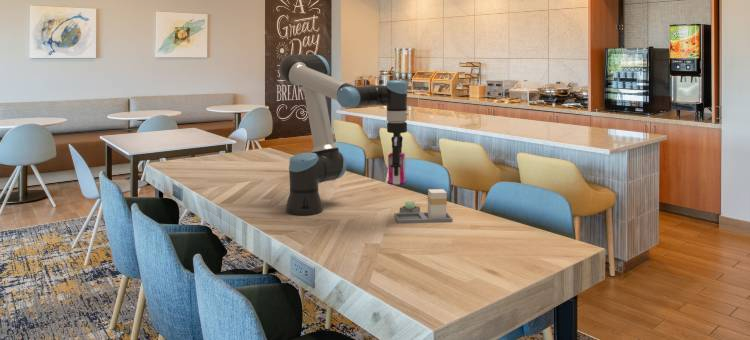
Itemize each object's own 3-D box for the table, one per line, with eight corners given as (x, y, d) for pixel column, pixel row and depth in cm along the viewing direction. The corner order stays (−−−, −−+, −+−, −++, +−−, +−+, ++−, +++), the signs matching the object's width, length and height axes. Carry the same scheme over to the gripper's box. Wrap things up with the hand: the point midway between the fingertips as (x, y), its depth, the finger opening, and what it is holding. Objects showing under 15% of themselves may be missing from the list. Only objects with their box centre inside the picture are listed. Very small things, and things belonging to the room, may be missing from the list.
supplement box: (391, 181, 225) (390, 152, 223) (406, 181, 223) (406, 152, 221) (388, 184, 219) (387, 154, 217) (403, 184, 218) (403, 154, 216)
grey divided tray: (398, 225, 219) (398, 220, 218) (394, 218, 229) (394, 213, 228) (452, 224, 221) (452, 218, 221) (446, 217, 231) (446, 211, 231)
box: (430, 220, 222) (431, 193, 220) (427, 216, 228) (428, 189, 226) (446, 220, 223) (447, 192, 221) (442, 216, 229) (443, 189, 226)
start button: (403, 213, 234) (403, 203, 233) (408, 211, 237) (408, 201, 236) (411, 215, 232) (411, 204, 231) (416, 212, 235) (416, 202, 234)
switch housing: (399, 215, 233) (399, 207, 233) (407, 211, 238) (407, 204, 238) (412, 217, 230) (412, 210, 230) (419, 214, 235) (419, 206, 235)
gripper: (405, 124, 207) (405, 187, 211) (408, 119, 226) (408, 177, 230) (384, 124, 208) (384, 187, 212) (389, 119, 227) (389, 177, 231)
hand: (397, 182), depth 221 cm, fingers closed on supplement box, 6 cm apart
